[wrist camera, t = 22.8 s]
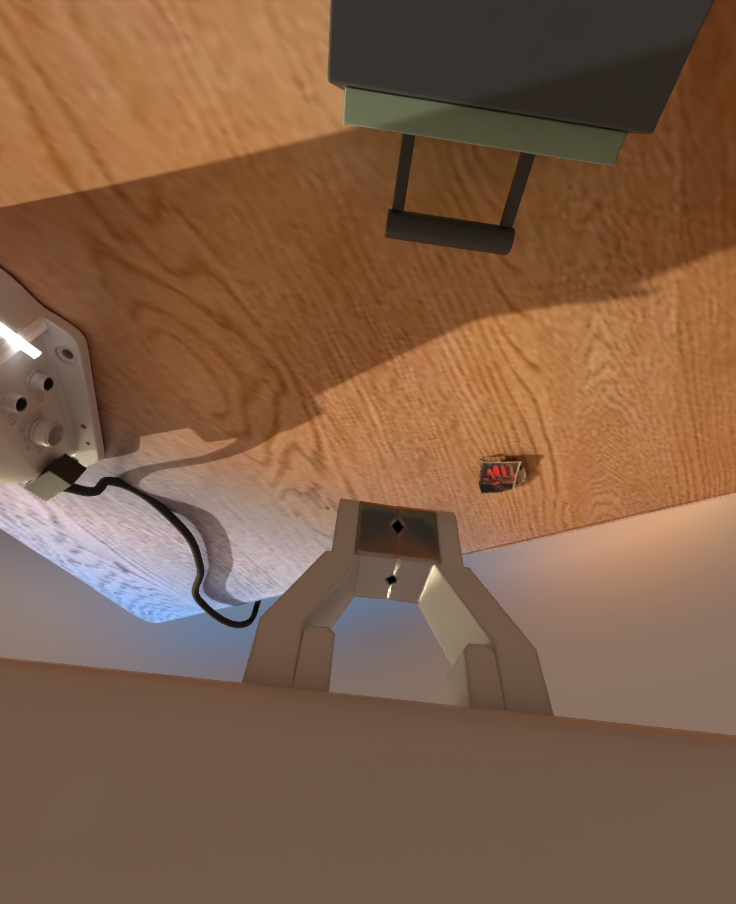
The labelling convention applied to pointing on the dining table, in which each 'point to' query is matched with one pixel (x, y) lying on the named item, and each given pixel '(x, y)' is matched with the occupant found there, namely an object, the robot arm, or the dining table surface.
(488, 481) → the matchbox
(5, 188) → the dining table surface
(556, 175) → the dining table surface
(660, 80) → the black storage box
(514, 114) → the drawer
